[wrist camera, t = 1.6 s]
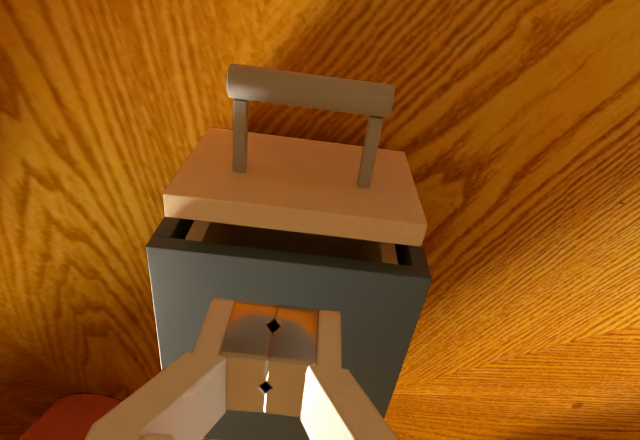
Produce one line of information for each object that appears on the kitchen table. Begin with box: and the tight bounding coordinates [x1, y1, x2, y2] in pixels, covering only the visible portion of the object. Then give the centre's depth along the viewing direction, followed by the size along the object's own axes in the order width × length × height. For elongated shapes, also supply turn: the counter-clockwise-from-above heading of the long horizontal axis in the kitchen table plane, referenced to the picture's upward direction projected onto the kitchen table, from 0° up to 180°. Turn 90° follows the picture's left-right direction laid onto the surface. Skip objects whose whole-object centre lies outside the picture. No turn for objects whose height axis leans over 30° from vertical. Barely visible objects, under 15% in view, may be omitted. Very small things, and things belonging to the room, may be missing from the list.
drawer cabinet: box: [146, 217, 432, 440], centre depth 27 cm, size 15×13×10 cm
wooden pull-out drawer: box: [163, 64, 428, 264], centre depth 24 cm, size 18×11×8 cm, turn 173°
